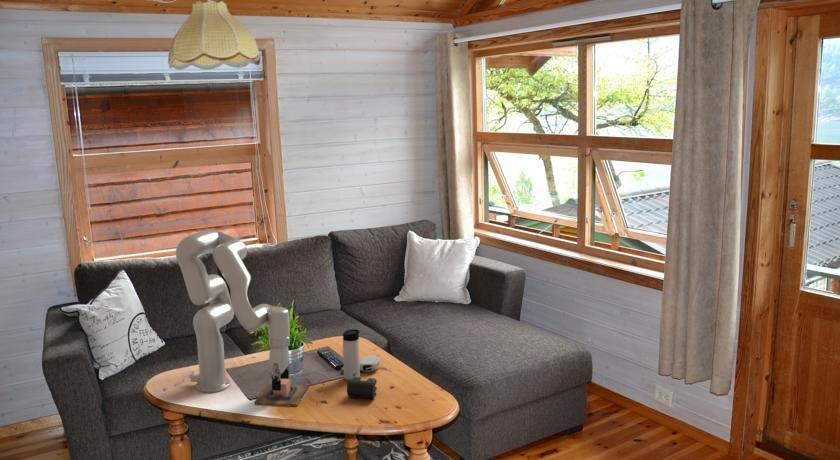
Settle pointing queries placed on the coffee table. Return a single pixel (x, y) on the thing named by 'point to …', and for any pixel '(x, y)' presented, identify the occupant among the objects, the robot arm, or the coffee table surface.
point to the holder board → (281, 396)
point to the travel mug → (351, 354)
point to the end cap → (362, 388)
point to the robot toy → (368, 363)
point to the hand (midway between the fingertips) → (280, 384)
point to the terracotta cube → (283, 387)
